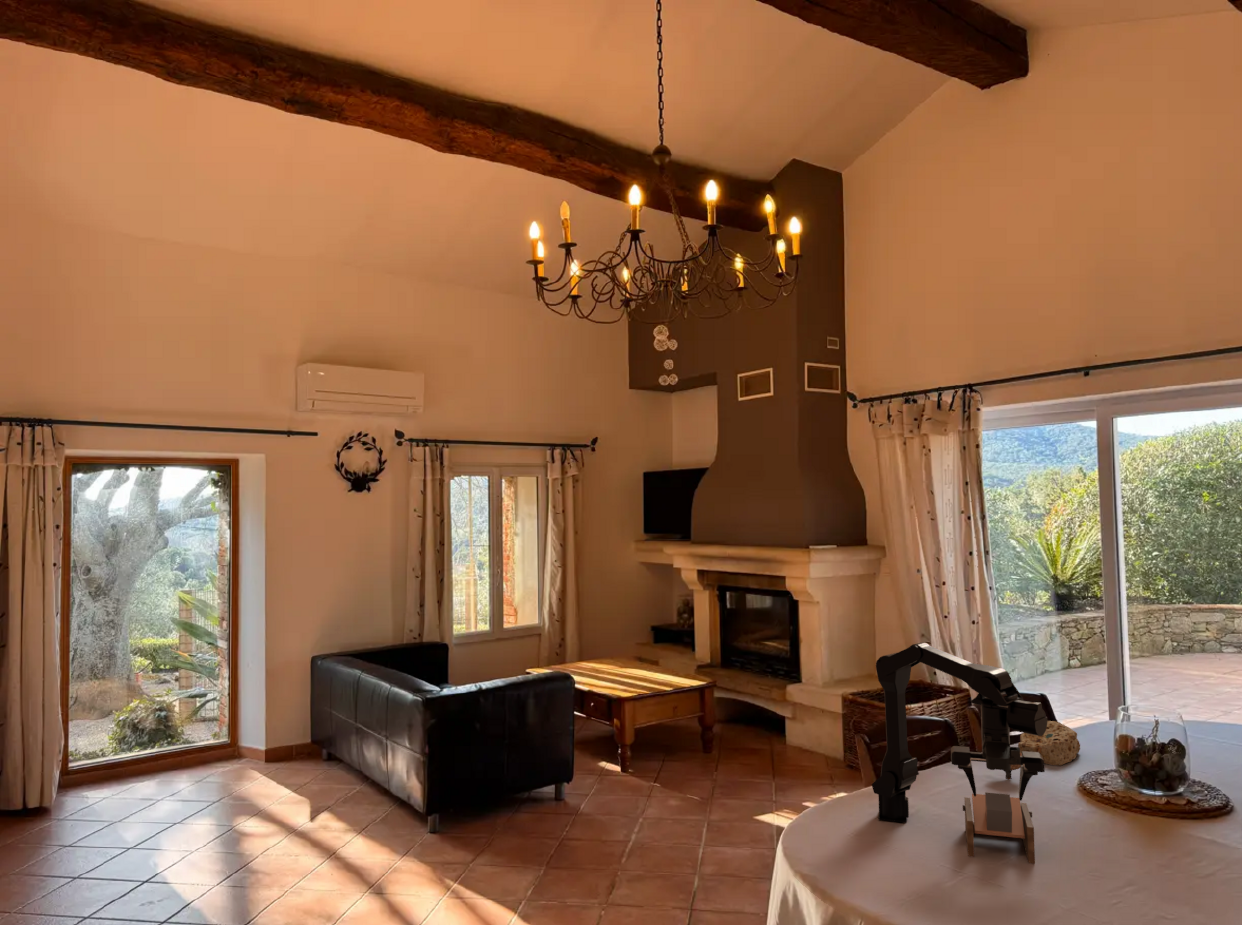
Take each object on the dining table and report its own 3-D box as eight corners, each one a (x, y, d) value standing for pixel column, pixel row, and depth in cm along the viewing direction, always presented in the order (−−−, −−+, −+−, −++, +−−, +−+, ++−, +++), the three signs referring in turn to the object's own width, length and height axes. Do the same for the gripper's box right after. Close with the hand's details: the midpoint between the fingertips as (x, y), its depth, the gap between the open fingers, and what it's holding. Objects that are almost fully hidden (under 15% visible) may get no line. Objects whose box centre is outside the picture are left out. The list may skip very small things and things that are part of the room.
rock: (1070, 772, 244) (1059, 737, 246) (1019, 773, 254) (1008, 739, 255) (1091, 747, 259) (1080, 714, 261) (1042, 749, 269) (1031, 717, 270)
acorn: (1027, 777, 238) (1026, 740, 238) (1024, 786, 231) (1022, 748, 231) (995, 773, 242) (993, 737, 242) (990, 781, 235) (989, 744, 235)
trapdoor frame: (965, 855, 188) (964, 820, 189) (962, 829, 203) (961, 797, 203) (1038, 864, 184) (1036, 827, 184) (1030, 836, 198) (1029, 803, 198)
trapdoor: (975, 848, 192) (974, 830, 190) (972, 810, 202) (972, 793, 200) (1024, 853, 189) (1024, 835, 187) (1019, 815, 198) (1019, 797, 196)
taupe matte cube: (985, 812, 194) (985, 792, 192) (1009, 815, 192) (1009, 794, 190) (986, 830, 190) (986, 809, 188) (1011, 832, 188) (1012, 811, 186)
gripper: (951, 733, 187) (953, 806, 187) (1046, 740, 181) (1049, 815, 180) (949, 720, 198) (952, 789, 197) (1040, 726, 191) (1042, 797, 191)
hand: (997, 797), depth 191 cm, fingers open, 9 cm apart
